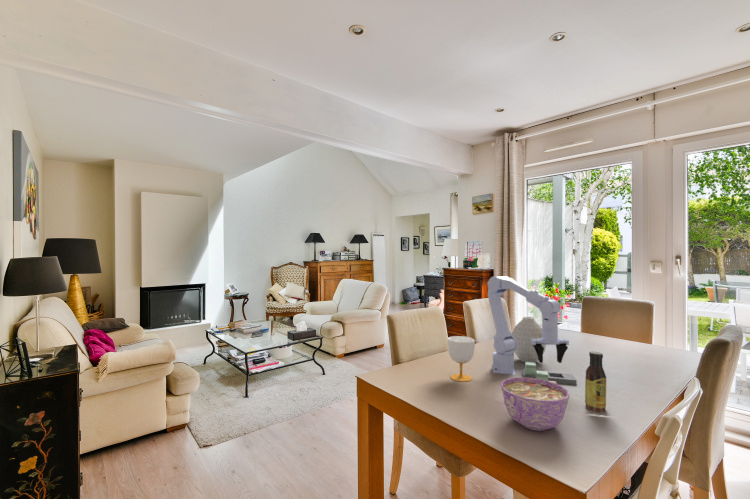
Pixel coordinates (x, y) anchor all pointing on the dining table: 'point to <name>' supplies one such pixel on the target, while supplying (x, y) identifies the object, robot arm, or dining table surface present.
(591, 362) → the sauce bottle
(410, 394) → the dining table surface
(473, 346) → the cup
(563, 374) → the gray fixture base
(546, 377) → the plug
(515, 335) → the vase
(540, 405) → the bowl of food
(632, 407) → the dining table surface
